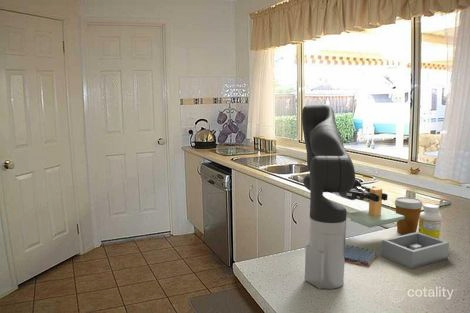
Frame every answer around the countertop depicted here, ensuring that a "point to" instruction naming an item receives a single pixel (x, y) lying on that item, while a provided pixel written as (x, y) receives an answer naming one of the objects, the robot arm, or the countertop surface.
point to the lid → (374, 213)
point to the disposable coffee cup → (408, 214)
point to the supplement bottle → (430, 221)
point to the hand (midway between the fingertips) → (382, 198)
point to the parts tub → (415, 249)
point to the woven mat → (359, 256)
